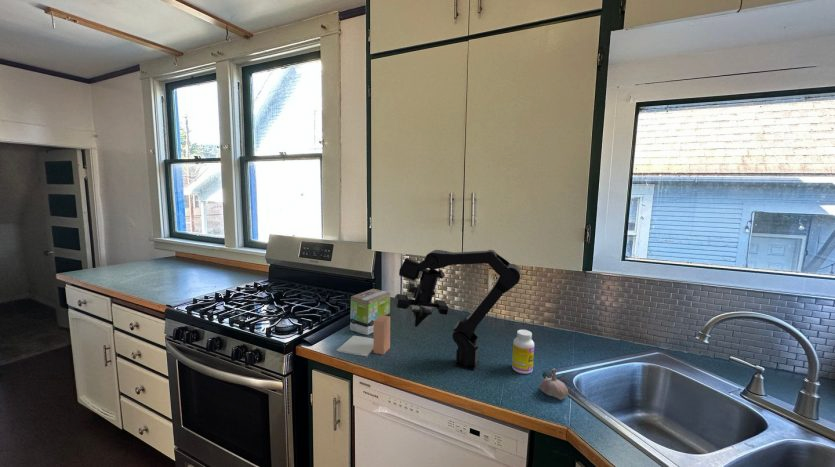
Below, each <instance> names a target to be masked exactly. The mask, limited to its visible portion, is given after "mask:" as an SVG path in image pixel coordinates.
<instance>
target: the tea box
mask: <svg viewBox="0 0 835 467" xmlns="http://www.w3.org/2000/svg"><path fill="white" fill-rule="evenodd" d="M349 311H350V313H349V314H350V315H349V316H350V317H349V319H350V322H349V324H350V325H349V326H350V327H349V329H350V331H352V332H356V333H358V334H363V335H366V336H369V335H371V334H372V333H374V320H375V319H376V318H377V317H379V316H380V315H383V316H390V317H391V315H390V314H391V292H390V291H386V290H381V289H377V288H376V289H375V288H371V289H369V290H365V291H363V292H359V293H357V294H354V295H351V296H350V310H349Z"/></svg>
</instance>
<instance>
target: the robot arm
mask: <svg viewBox="0 0 835 467" xmlns="http://www.w3.org/2000/svg"><path fill="white" fill-rule="evenodd" d="M476 264H477V265H478V264H480V265H481V264H487V265H488V266H489V267H491V269H493V271H494V272H495V273H496V274H497V275H498V277H497V280H496V281H495V284H493V286H492V287H491V288H490V290H489V291H488V293H487V294H486V295H485V296H484V297H483V299H481V301H480V302H479V304H478V305H477V306H476V307H475V308H474V310H473V311H472V312H471V314H470V315H468V316H467V317H466V316H465V315H462V316H461V319H460V320H458V321H457V322H456V324H455V326H454V327H453V332H452V340H453V341H454V342H455V344H456V345H457V348H456V351H455V352H456V354H455V360H456V362H455V363H454V365H455V366H456V367H459V368H463V369H465V370H466V369H467V370H471V371H474V370H475V369H476V367H478V366H479V364H480V360H479V346H477V345H478V341H479V338H480V337H479V336H478V335H477V334H476V332H475V331H476V329H477V327H478V325H479V324H480V323H481V321H482V320H483V319H484V318H485V317H486V315H487V314H488V313H489V312H490V311H491V309H492V308H493V307H494V306H495V305H496V303H498V301H499V299H501V297H502V296H503V295H504V294H505V293H507V292H508V291H510V290H512V289H513V288H514V287H515V286H516V285H517V284H518V283H519V282H520V280H521V269H520V267H519V266H518V265H516V264H514V263H510V262H509V260H507V259H506V258H504V257H502V256H501V255H499V254H498V253H497V252H496V251H495V250H493V249H488V250H476V251H475V250H474V251H458V252H453V251H448V250H443V249H434V250H432V251H430V252H429V253H426V255H425V257H424V259H423V260H421V261H420V262H419V261H416V260H413V259H412V258H409V257H406V258H404V261H403V262H402V264H401V267H399V270H398V273H399V274H398V275H399V277H402V278H404V279H407V280H410V281H413V282H416V280H419V279H420V280H419V283H418V284H417V286H415V284H414V283H410V282H409V283H408V285H407V289H406V292H408V293H410V295H411V296H412V298H413V299H411V298H410V299H409V297H408V295H407V294H403V293H397V294H396V295H394V299H393V301H394V304H395V306H396V307H395V308H398V309H401V310H403V309H404V310H407V309H408V308H410V310H411V312H412V313H413V325H414V327H415V328H416V327H419V325H420V324H421V323H422V322H423V321H424V320H425V319H426V318H427V317H429V316H431V315H432V314H433V312H432V310H433V309H435V310H437V312H438V313H439V314H440V315H446V316H447V315H448V314H449V311H450V307H449V306H448V304H447V303H446V302H445V300H440V299H435V300H434V301H433V296H435V295H436V286H437V284H438V283H437V282H438V280H439V279H441V280H442V279H444V278H445V277H446V274H445V273H444V272H443V269H442V268H446V267H449V266H453V265H454V266H456V265H457V266H458V265H476ZM438 269H439V270H438ZM432 301H433V302H432Z"/></svg>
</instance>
